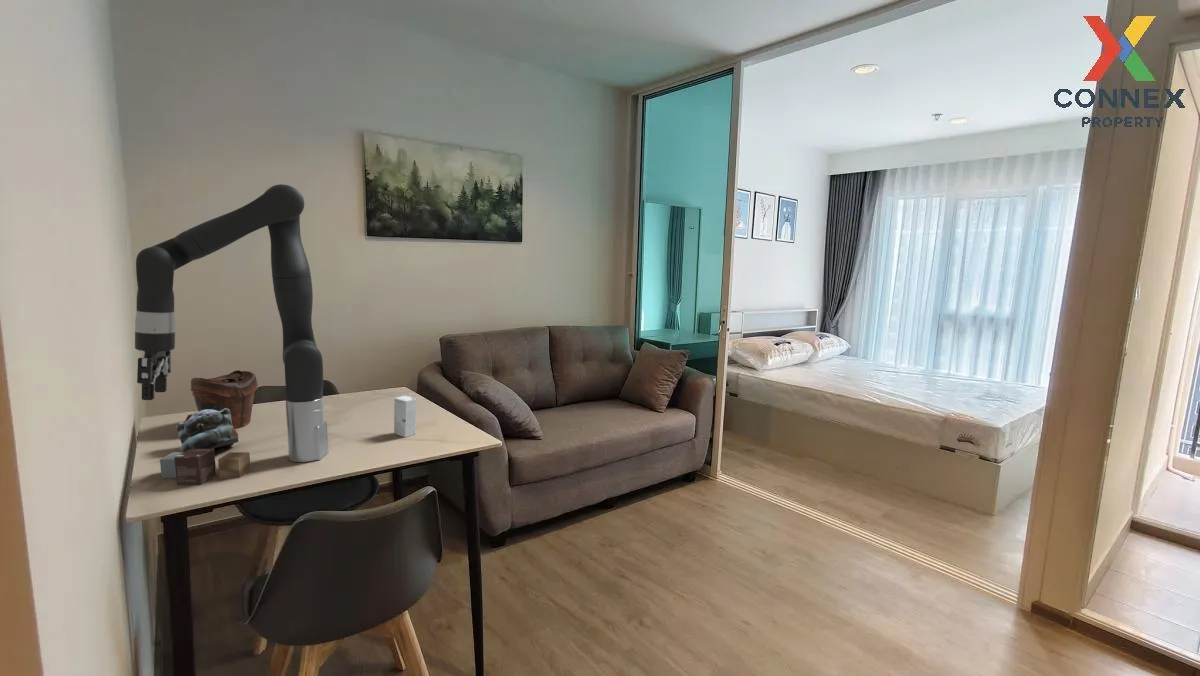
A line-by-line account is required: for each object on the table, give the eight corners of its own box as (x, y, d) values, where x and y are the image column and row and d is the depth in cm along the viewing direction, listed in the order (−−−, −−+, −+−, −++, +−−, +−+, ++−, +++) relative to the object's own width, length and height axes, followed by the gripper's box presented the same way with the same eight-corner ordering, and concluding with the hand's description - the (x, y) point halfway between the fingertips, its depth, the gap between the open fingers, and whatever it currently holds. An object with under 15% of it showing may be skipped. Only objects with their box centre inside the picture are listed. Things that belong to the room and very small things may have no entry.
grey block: (195, 470, 143) (193, 452, 142) (182, 477, 138) (180, 459, 137) (175, 470, 143) (173, 452, 142) (161, 478, 138) (159, 459, 137)
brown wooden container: (266, 413, 192) (262, 364, 189) (252, 431, 174) (247, 377, 171) (207, 418, 186) (201, 367, 183) (186, 437, 168) (179, 381, 165)
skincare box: (393, 433, 176) (392, 397, 174) (405, 430, 180) (404, 395, 178) (405, 437, 172) (404, 401, 171) (417, 434, 176) (416, 398, 174)
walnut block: (250, 470, 144) (249, 452, 143) (239, 477, 139) (238, 459, 139) (230, 470, 144) (229, 452, 143) (219, 477, 139) (218, 459, 138)
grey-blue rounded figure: (171, 461, 148) (160, 413, 150) (193, 462, 159) (183, 418, 161) (231, 442, 152) (219, 395, 154) (249, 444, 163) (238, 401, 165)
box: (217, 475, 140) (215, 448, 139) (201, 485, 134) (198, 457, 133) (193, 475, 140) (190, 448, 139) (175, 484, 134) (173, 456, 133)
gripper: (164, 334, 125) (163, 402, 127) (183, 327, 138) (182, 389, 140) (123, 332, 122) (122, 402, 124) (146, 326, 135) (146, 389, 137)
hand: (154, 395), depth 132 cm, fingers open, 8 cm apart
